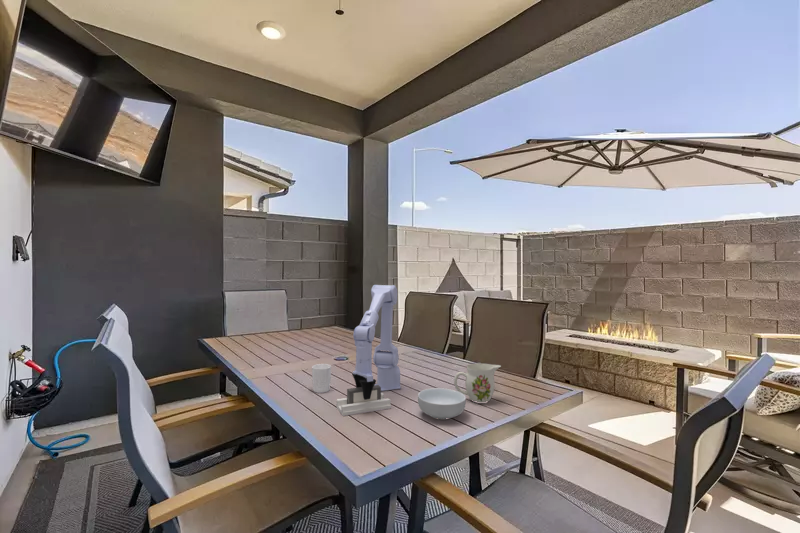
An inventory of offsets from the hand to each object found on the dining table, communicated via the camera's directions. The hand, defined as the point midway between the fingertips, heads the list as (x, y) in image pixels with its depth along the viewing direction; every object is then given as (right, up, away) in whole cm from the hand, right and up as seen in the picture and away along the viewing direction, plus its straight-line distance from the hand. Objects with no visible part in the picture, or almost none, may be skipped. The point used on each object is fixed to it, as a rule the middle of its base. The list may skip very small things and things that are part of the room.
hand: (363, 395), depth 139 cm
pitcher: (+43, -5, +8) cm, 44 cm away
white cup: (-19, -4, +19) cm, 27 cm away
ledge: (0, -4, 0) cm, 4 cm away
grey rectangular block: (0, -3, 0) cm, 3 cm away
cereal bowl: (+28, -5, -6) cm, 29 cm away
